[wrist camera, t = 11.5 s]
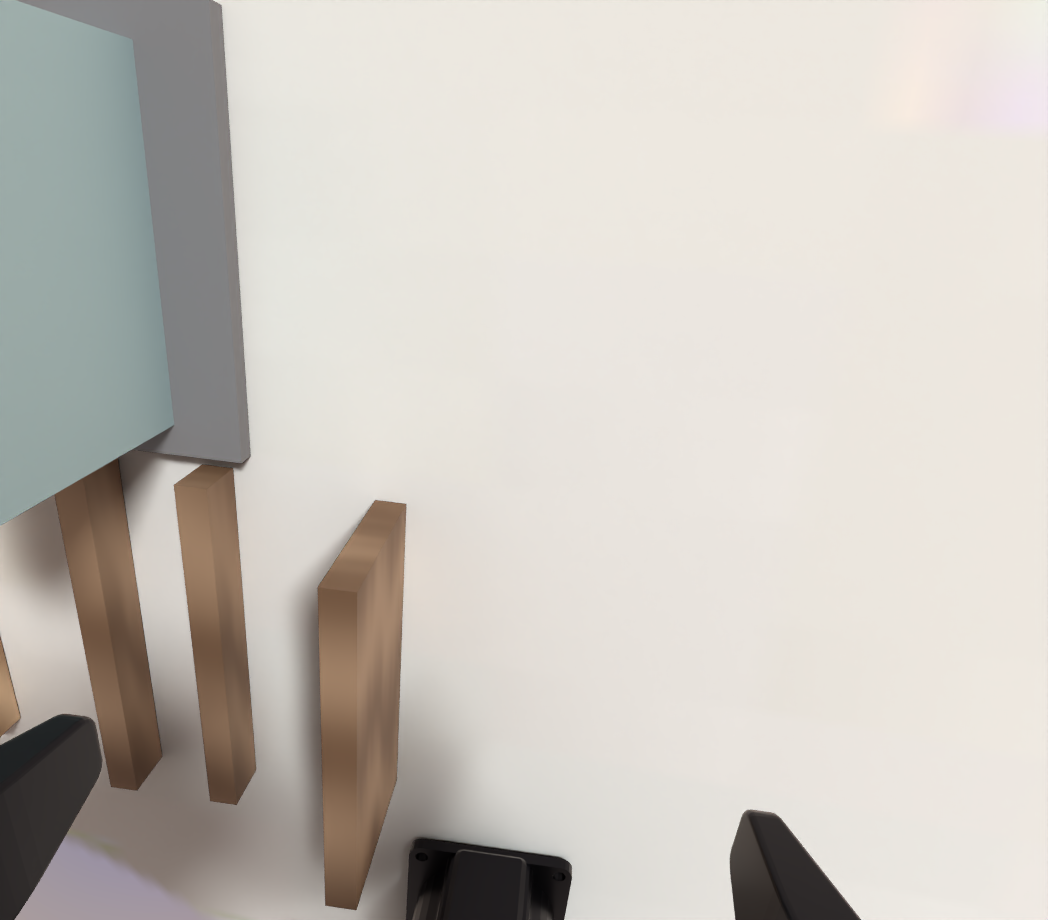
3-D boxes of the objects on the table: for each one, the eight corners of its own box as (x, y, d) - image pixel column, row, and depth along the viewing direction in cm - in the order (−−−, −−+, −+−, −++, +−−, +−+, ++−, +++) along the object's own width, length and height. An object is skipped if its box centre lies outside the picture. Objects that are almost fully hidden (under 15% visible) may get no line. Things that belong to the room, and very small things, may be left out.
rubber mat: (250, 456, 21) (241, 463, 20) (65, 432, 21) (52, 439, 20) (221, 4, 16) (208, -2, 16) (-16, -19, 16) (-36, -27, 16)
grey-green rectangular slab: (174, 424, 20) (-65, 563, 13) (109, 417, 20) (-166, 549, 13) (132, 39, 16) (-249, -89, 9) (53, 30, 16) (-392, -103, 9)
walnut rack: (396, 789, 26) (356, 920, 21) (137, 753, 26) (42, 873, 22) (406, 489, 21) (357, 575, 16) (86, 449, 21) (-51, 522, 17)
